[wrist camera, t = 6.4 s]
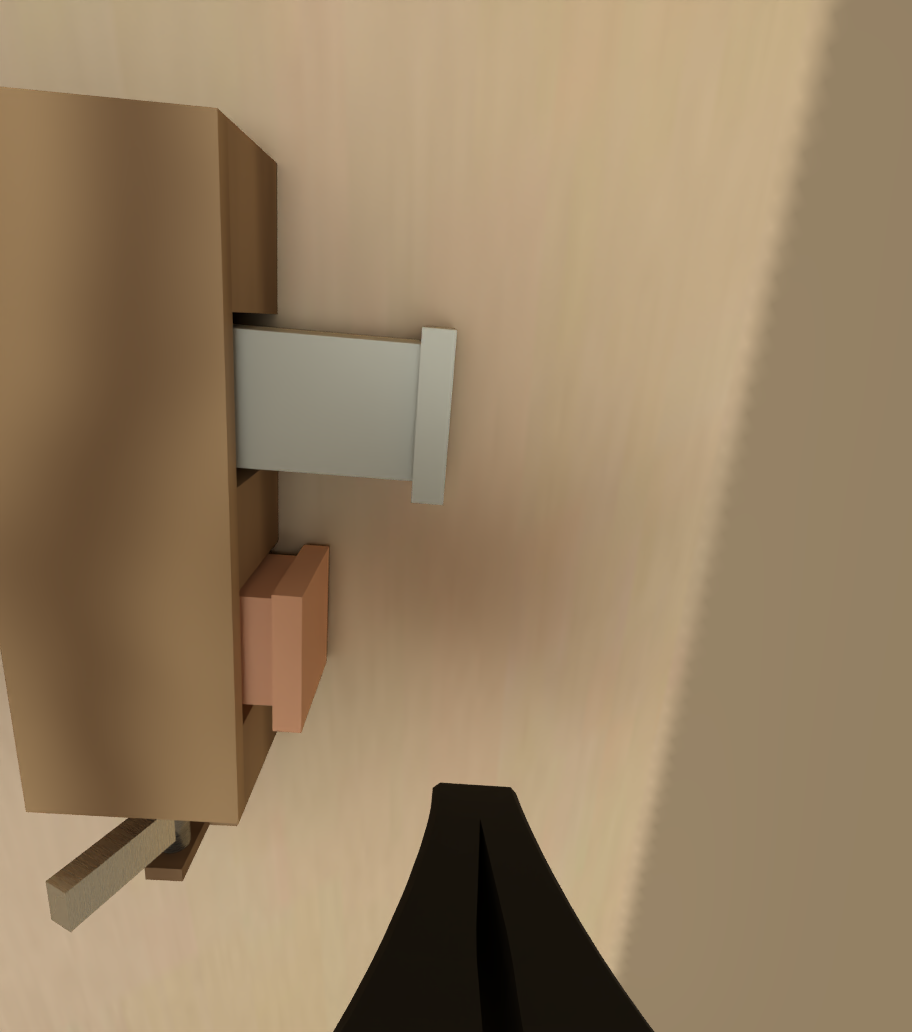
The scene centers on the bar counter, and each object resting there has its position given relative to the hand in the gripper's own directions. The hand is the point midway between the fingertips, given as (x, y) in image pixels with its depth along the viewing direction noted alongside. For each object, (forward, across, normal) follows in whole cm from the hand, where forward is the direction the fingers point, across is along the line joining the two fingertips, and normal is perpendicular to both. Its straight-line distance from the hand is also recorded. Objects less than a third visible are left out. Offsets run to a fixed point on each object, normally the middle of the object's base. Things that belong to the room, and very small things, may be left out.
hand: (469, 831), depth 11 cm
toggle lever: (+8, +9, +8) cm, 14 cm away
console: (+10, +9, -1) cm, 14 cm away
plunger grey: (+10, +4, -6) cm, 13 cm away
